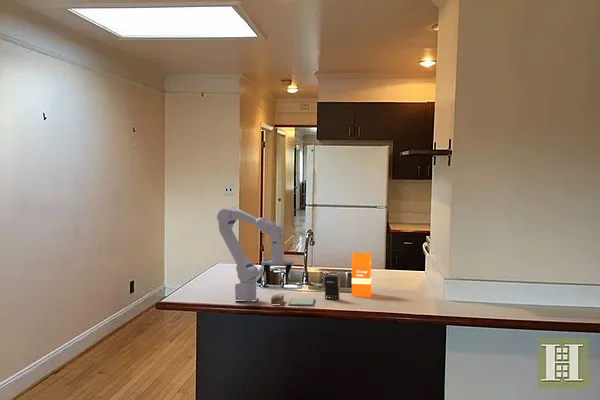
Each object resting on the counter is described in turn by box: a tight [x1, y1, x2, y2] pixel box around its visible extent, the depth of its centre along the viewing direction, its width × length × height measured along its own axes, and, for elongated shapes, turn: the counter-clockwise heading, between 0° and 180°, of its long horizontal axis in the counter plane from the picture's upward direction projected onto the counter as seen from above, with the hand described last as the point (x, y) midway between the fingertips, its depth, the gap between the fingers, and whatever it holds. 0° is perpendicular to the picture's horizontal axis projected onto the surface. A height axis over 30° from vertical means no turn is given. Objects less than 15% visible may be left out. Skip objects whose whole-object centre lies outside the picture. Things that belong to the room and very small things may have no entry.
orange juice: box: [351, 252, 372, 298], centre depth 249 cm, size 8×9×20 cm
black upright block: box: [323, 273, 341, 301], centre depth 240 cm, size 7×4×11 cm, turn 64°
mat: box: [288, 298, 316, 307], centre depth 234 cm, size 11×11×1 cm
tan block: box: [270, 293, 285, 306], centre depth 234 cm, size 4×8×4 cm, turn 174°
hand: (278, 281), depth 234 cm, fingers open, 7 cm apart
